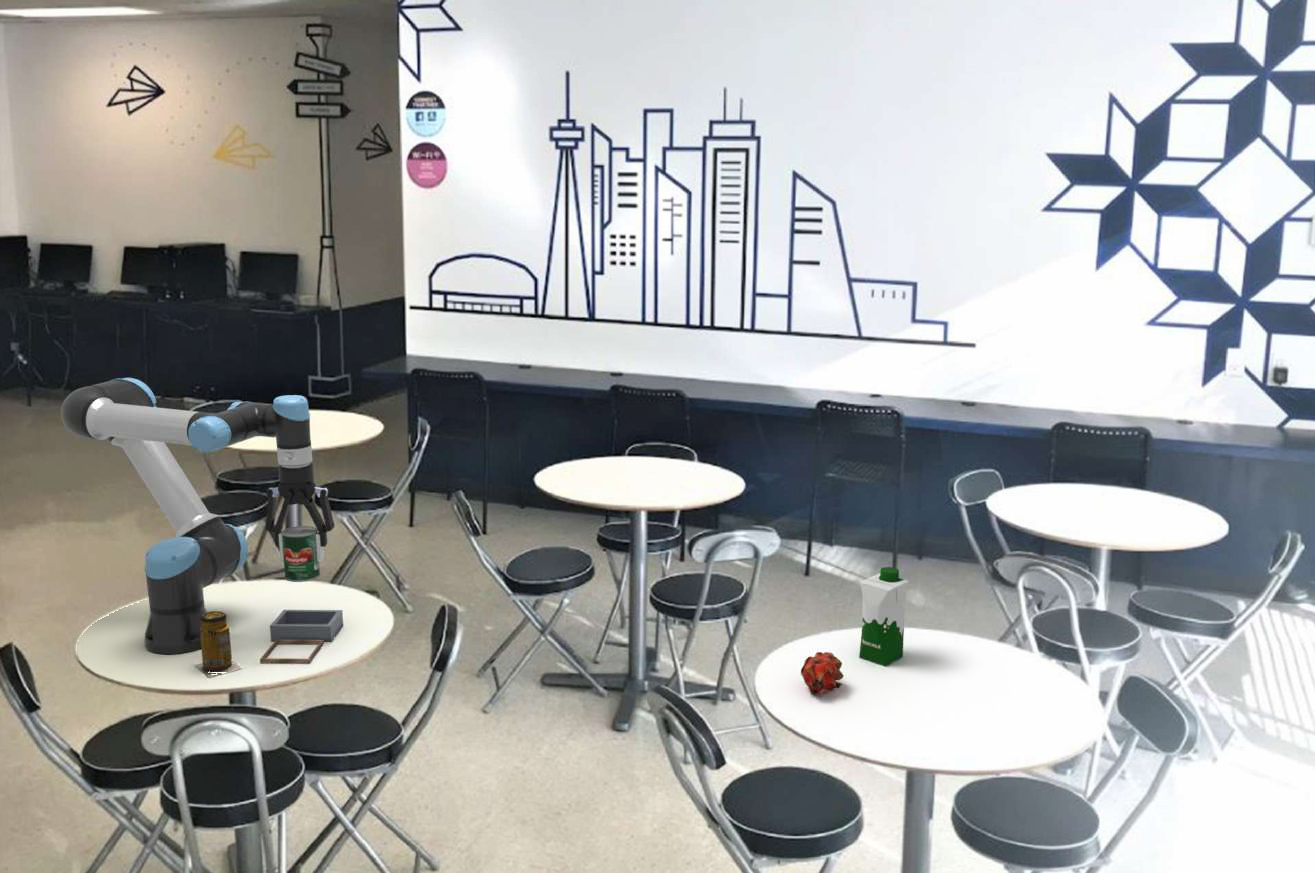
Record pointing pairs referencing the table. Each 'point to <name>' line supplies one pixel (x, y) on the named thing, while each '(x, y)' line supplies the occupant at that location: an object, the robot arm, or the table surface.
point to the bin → (307, 625)
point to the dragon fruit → (822, 672)
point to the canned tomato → (300, 554)
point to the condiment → (215, 644)
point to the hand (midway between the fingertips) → (302, 559)
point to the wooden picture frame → (292, 660)
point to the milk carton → (883, 617)
